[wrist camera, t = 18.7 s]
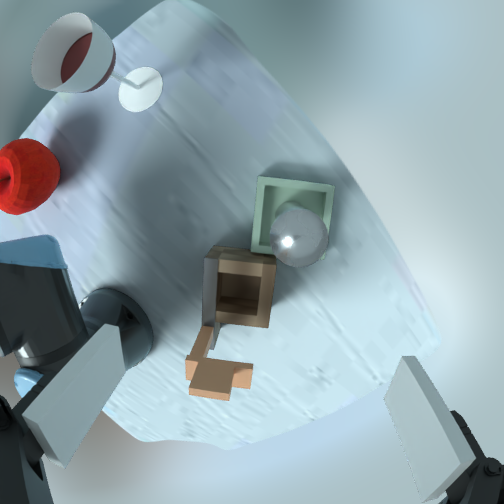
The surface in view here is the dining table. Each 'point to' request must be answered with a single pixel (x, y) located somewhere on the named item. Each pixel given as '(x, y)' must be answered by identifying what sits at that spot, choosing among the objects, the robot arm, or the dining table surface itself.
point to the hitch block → (237, 288)
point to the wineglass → (88, 63)
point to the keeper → (214, 370)
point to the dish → (280, 191)
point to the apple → (26, 175)
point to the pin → (298, 235)
